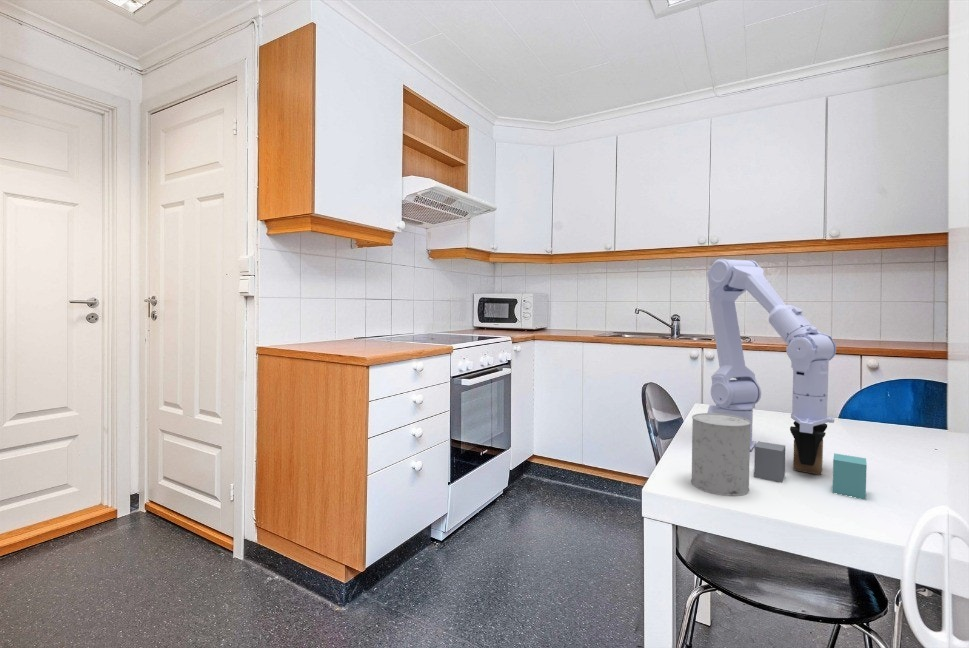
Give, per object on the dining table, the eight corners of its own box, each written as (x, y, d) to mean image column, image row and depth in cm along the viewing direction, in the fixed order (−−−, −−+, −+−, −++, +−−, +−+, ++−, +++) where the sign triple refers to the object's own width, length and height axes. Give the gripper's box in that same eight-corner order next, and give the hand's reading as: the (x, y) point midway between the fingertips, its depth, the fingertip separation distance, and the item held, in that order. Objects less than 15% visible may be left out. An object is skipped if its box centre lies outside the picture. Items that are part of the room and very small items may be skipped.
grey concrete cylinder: (748, 500, 77) (749, 428, 77) (687, 488, 82) (688, 421, 82) (750, 482, 86) (751, 417, 85) (694, 472, 91) (695, 410, 90)
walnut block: (793, 469, 92) (793, 440, 91) (795, 463, 95) (796, 435, 95) (821, 475, 89) (821, 444, 89) (822, 468, 92) (823, 439, 92)
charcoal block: (754, 477, 88) (754, 446, 88) (757, 470, 92) (758, 441, 91) (781, 483, 85) (782, 451, 85) (784, 476, 89) (785, 445, 89)
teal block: (832, 493, 81) (833, 459, 80) (833, 485, 84) (834, 453, 84) (865, 500, 78) (866, 465, 78) (865, 491, 81) (866, 458, 81)
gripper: (833, 402, 83) (831, 475, 84) (836, 391, 95) (834, 456, 95) (787, 397, 88) (785, 467, 88) (795, 387, 99) (793, 449, 99)
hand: (808, 461), depth 92 cm, fingers closed on walnut block, 4 cm apart
